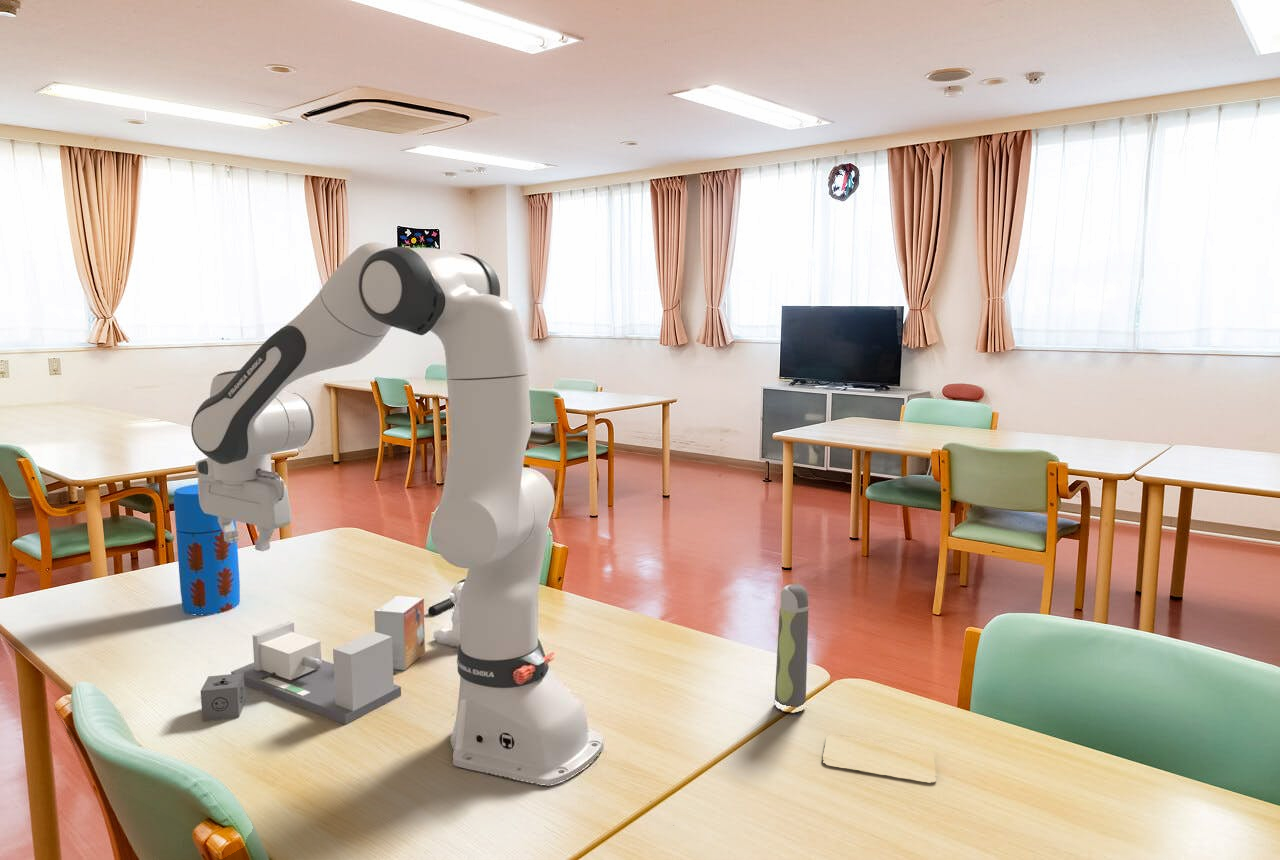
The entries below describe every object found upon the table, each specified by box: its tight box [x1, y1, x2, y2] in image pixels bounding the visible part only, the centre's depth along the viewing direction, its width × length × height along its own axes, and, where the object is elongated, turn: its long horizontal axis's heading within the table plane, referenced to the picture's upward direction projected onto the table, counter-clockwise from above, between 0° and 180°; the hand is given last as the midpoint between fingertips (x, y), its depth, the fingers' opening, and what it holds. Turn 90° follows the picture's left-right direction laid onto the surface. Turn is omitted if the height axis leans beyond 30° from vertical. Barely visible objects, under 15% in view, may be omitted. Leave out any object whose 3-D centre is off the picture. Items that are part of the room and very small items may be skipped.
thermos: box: [173, 483, 241, 616], centre depth 168 cm, size 11×11×25 cm
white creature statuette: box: [433, 582, 464, 649], centre depth 152 cm, size 10×9×12 cm
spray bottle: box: [774, 583, 809, 707], centre depth 128 cm, size 5×5×20 cm
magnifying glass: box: [427, 578, 466, 617], centre depth 177 cm, size 12×24×2 cm, turn 154°
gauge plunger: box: [252, 621, 322, 680], centre depth 135 cm, size 12×9×6 cm
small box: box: [373, 595, 426, 671], centre depth 144 cm, size 8×6×10 cm
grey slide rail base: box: [230, 631, 402, 725], centre depth 133 cm, size 28×11×10 cm, turn 60°
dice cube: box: [200, 673, 246, 723], centre depth 126 cm, size 5×5×5 cm
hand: (246, 545), depth 139 cm, fingers open, 7 cm apart
